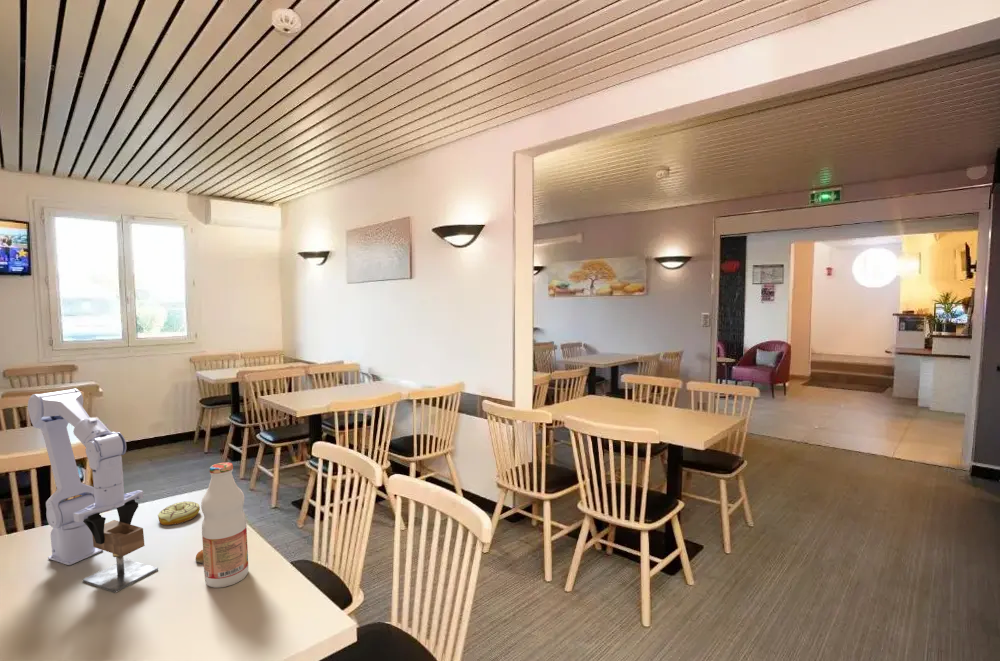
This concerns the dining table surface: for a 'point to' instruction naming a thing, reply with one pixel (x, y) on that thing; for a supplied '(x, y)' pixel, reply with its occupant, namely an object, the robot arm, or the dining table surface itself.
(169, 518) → the decorated donut
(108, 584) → the hook plate
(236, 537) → the fruit juice
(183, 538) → the dining table surface
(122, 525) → the block
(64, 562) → the robot arm
